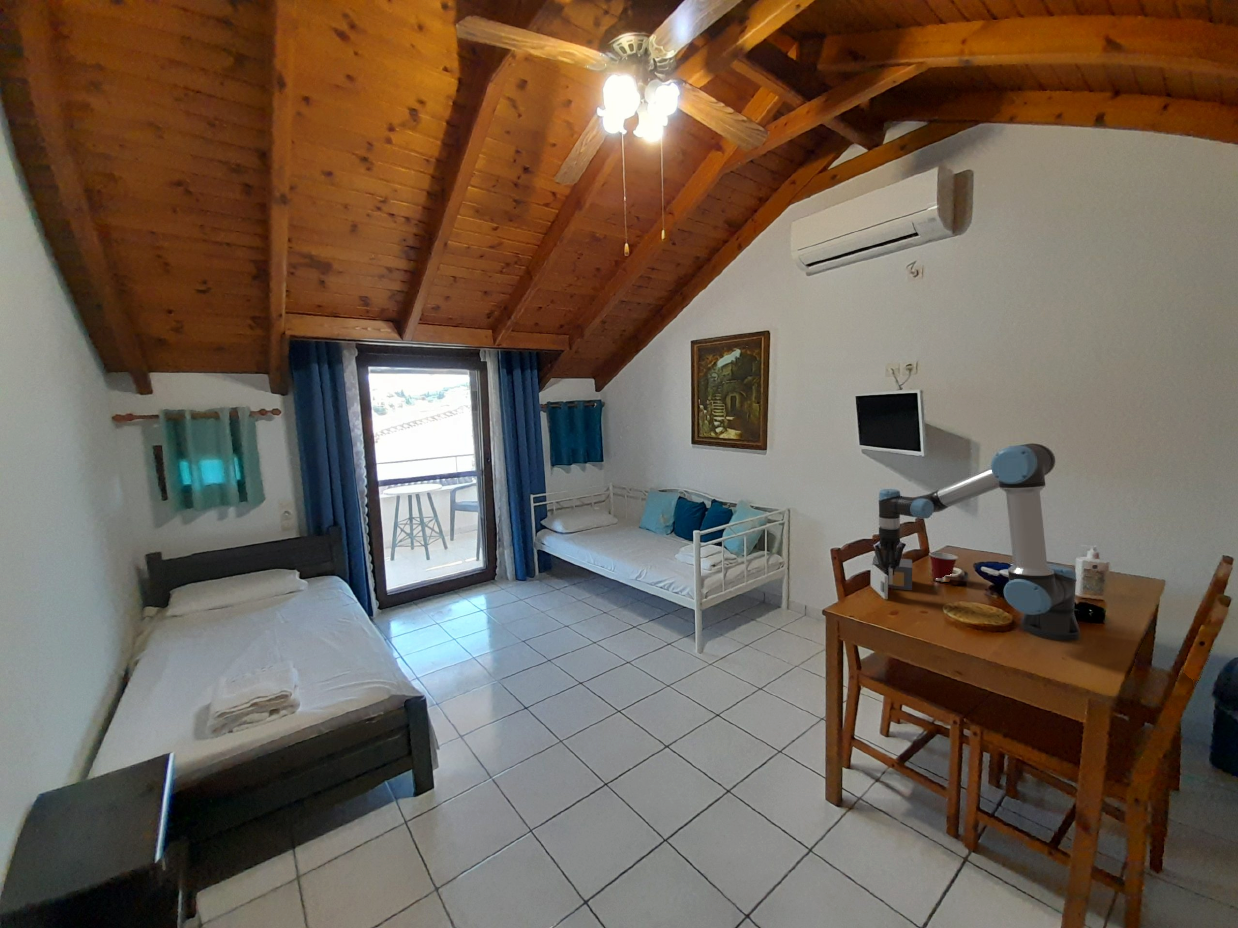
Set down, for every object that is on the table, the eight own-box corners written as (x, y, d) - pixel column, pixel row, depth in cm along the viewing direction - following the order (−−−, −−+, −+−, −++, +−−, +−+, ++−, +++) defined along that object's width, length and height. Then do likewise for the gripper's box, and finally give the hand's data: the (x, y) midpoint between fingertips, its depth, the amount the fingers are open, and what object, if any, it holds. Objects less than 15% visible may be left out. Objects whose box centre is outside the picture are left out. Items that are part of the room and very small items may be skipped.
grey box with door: (911, 590, 209) (912, 567, 208) (872, 586, 217) (872, 563, 215) (911, 580, 221) (911, 558, 220) (873, 576, 229) (873, 555, 227)
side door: (882, 599, 201) (883, 576, 200) (868, 585, 217) (868, 564, 216) (887, 599, 201) (887, 576, 200) (872, 585, 216) (873, 564, 215)
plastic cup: (963, 583, 215) (964, 556, 214) (942, 586, 213) (943, 559, 211) (942, 575, 226) (942, 549, 224) (922, 578, 223) (922, 552, 222)
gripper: (898, 524, 206) (898, 578, 209) (868, 526, 206) (868, 581, 208) (910, 528, 199) (909, 585, 201) (879, 530, 198) (878, 587, 201)
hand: (889, 582), depth 205 cm, fingers closed
